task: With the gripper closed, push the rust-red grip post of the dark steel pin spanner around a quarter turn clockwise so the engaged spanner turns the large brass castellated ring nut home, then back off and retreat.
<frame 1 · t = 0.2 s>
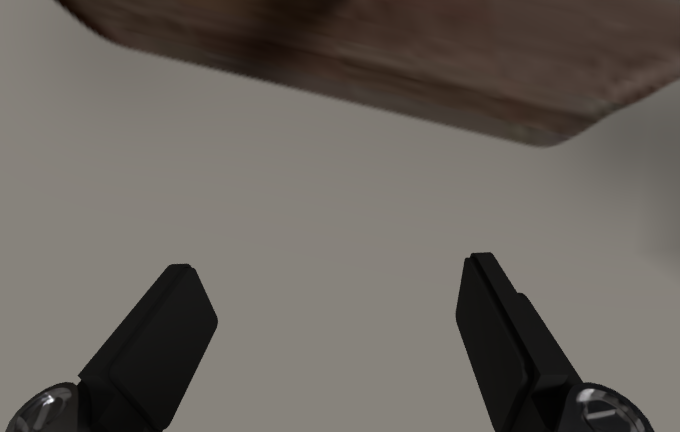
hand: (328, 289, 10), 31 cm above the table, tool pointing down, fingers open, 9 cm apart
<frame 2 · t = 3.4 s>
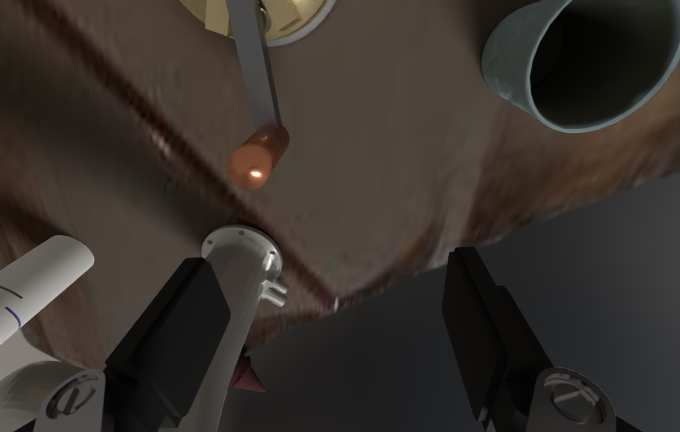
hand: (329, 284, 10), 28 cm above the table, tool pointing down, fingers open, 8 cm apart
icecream: (242, 355, 61), on the table
cylindrical container: (72, 252, 48), on the table
grey green cup: (520, 52, 31), on the table
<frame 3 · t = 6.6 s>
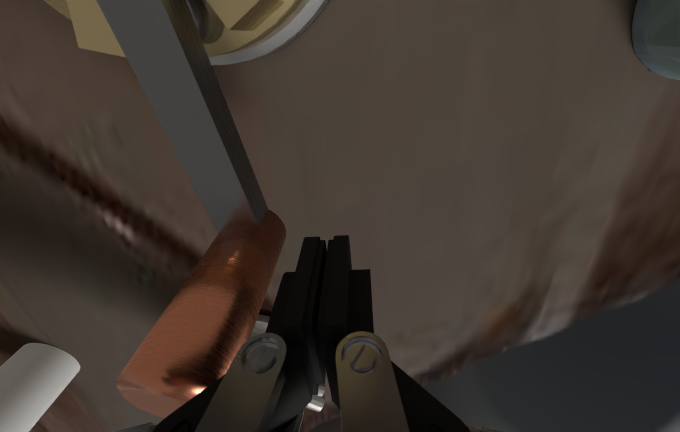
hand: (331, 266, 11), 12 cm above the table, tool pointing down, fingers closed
cylindrical container: (52, 358, 38), on the table
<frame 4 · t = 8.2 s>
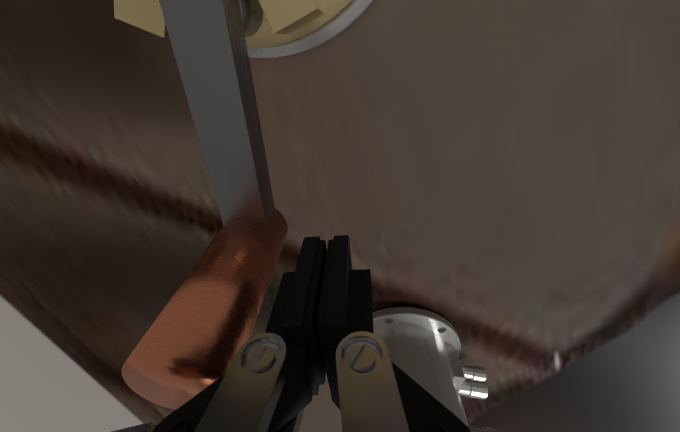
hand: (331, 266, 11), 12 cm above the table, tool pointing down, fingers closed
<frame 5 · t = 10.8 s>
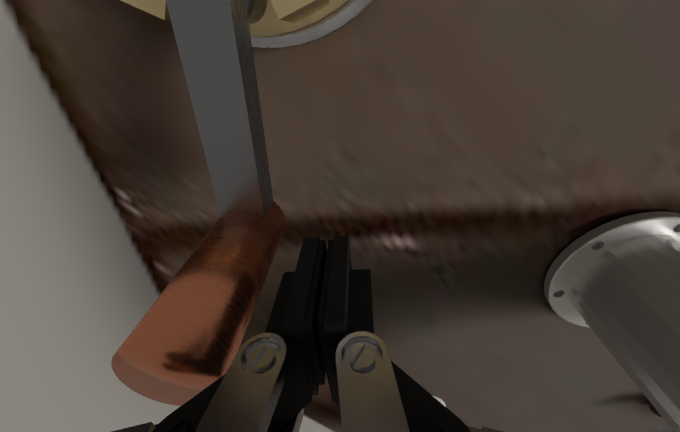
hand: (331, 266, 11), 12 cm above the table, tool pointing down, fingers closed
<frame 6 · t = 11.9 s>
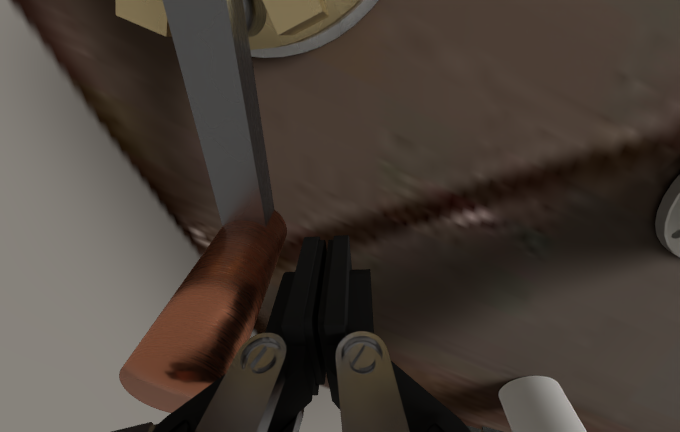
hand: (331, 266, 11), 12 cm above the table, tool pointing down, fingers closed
cylindrical container: (527, 390, 37), on the table
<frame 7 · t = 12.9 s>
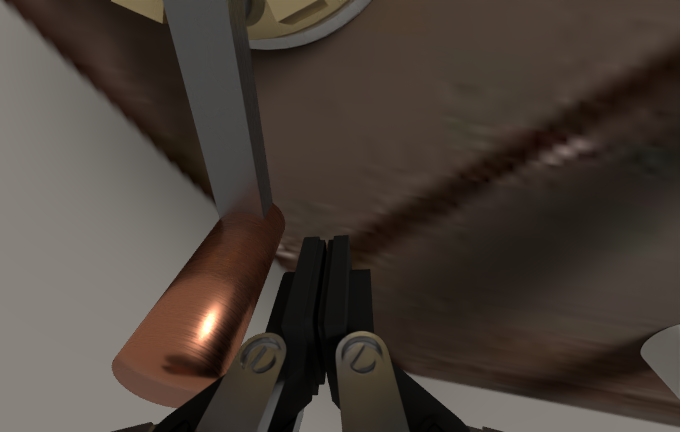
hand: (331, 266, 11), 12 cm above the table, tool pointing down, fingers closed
cylindrical container: (678, 342, 31), on the table
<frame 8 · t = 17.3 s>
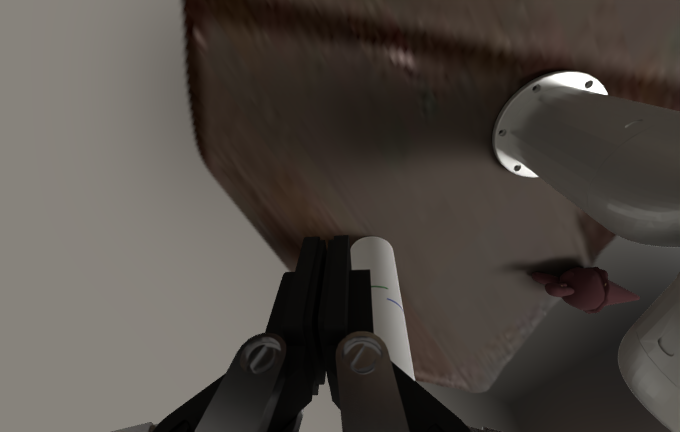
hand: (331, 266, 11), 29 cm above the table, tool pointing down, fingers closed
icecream: (573, 273, 48), on the table
cylindrical container: (371, 253, 48), on the table
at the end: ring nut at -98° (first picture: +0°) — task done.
